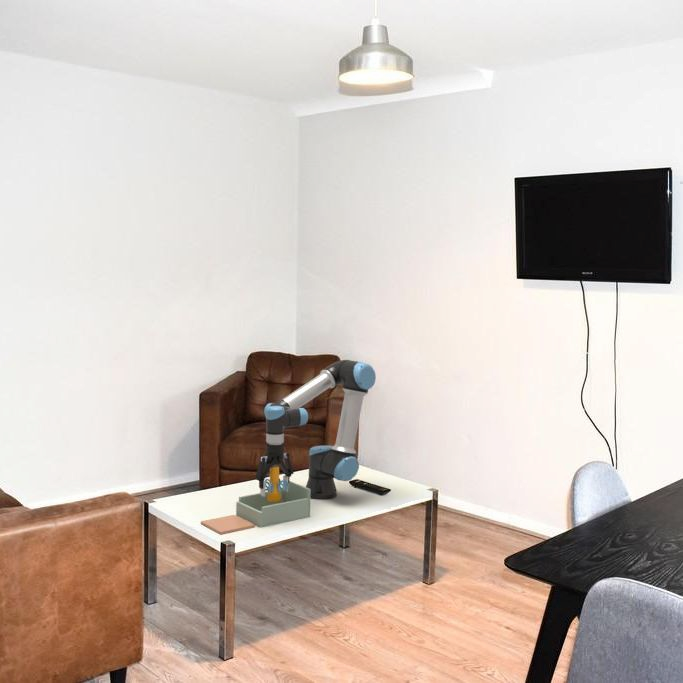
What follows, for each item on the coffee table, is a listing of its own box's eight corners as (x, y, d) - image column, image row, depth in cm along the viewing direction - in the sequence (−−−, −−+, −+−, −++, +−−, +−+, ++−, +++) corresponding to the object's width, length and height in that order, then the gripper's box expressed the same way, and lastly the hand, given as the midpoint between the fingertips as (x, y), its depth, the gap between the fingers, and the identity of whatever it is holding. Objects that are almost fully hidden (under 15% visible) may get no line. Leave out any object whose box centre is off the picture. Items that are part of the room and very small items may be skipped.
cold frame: (284, 505, 364) (285, 479, 363) (309, 516, 350) (310, 489, 349) (236, 515, 348) (236, 488, 347) (260, 527, 334) (260, 498, 333)
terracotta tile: (234, 517, 346) (234, 514, 346) (254, 527, 334) (254, 524, 334) (200, 523, 336) (200, 521, 336) (220, 534, 324) (220, 532, 324)
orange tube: (262, 505, 342) (262, 470, 340) (258, 497, 352) (258, 463, 350) (290, 503, 345) (291, 468, 344) (285, 496, 355) (286, 462, 354)
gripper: (292, 437, 356) (291, 486, 359) (246, 444, 341) (246, 495, 344) (302, 440, 350) (301, 490, 353) (256, 448, 336) (256, 500, 338)
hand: (274, 493), depth 348 cm, fingers closed on orange tube, 11 cm apart
